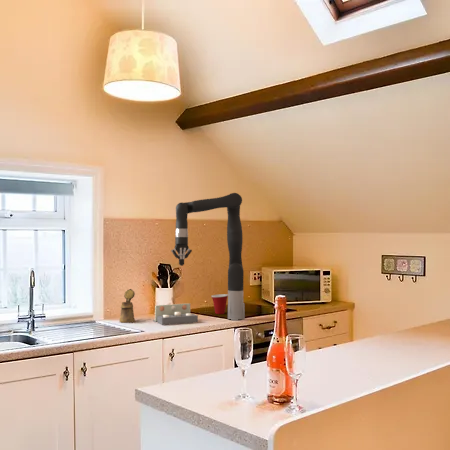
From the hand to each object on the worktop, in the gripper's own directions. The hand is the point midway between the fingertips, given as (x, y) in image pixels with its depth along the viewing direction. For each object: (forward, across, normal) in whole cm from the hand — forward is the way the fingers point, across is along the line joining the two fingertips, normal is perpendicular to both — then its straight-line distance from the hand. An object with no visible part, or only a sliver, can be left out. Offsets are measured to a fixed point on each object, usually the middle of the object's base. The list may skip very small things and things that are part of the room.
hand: (181, 265), depth 335 cm
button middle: (+28, +6, +10) cm, 31 cm away
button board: (+32, +6, +10) cm, 34 cm away
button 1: (+30, +13, +10) cm, 34 cm away
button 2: (+30, -1, +9) cm, 31 cm away
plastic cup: (+32, -31, -12) cm, 46 cm away
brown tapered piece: (+32, +30, -8) cm, 45 cm away
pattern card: (+32, +6, +1) cm, 33 cm away
